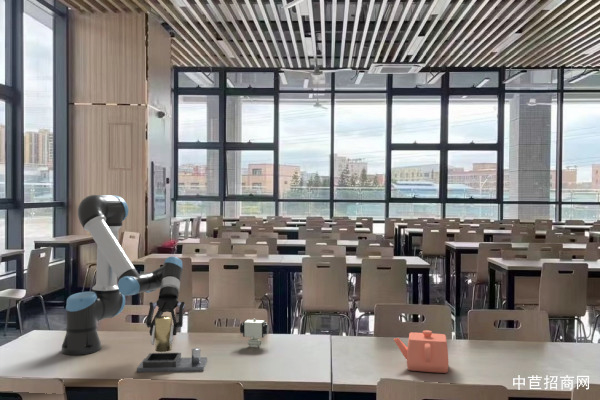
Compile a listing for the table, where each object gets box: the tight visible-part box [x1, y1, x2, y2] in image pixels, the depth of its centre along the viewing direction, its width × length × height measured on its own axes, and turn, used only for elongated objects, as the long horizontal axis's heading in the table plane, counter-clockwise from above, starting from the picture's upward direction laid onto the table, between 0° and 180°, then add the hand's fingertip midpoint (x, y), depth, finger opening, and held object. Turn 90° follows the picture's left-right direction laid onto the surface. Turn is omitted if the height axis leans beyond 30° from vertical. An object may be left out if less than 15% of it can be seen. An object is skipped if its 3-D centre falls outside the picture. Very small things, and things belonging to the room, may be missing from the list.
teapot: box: [393, 329, 449, 374], centre depth 201 cm, size 20×22×14 cm
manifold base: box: [136, 347, 208, 373], centre depth 202 cm, size 24×12×6 cm, turn 93°
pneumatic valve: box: [239, 318, 270, 349], centre depth 230 cm, size 6×12×12 cm, turn 80°
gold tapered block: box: [154, 315, 173, 353], centre depth 201 cm, size 6×6×12 cm
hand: (161, 342), depth 198 cm, fingers closed on gold tapered block, 6 cm apart
